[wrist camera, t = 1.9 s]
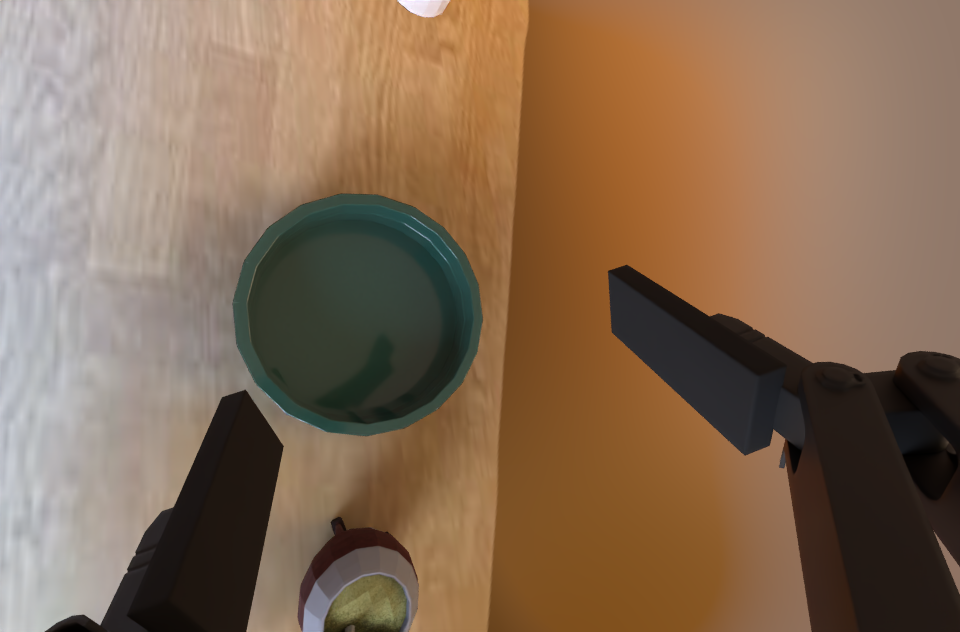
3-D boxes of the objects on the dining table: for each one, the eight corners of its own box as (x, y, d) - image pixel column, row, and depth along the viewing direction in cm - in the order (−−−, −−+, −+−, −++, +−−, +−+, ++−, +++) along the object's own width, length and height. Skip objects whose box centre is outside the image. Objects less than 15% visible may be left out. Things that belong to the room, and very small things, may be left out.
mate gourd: (379, 490, 32) (446, 589, 18) (412, 584, 32) (502, 751, 18) (276, 542, 29) (262, 709, 15) (314, 646, 29) (335, 901, 15)
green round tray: (230, 211, 29) (221, 189, 25) (449, 214, 36) (468, 197, 32) (253, 447, 29) (247, 461, 25) (472, 403, 36) (494, 409, 32)
